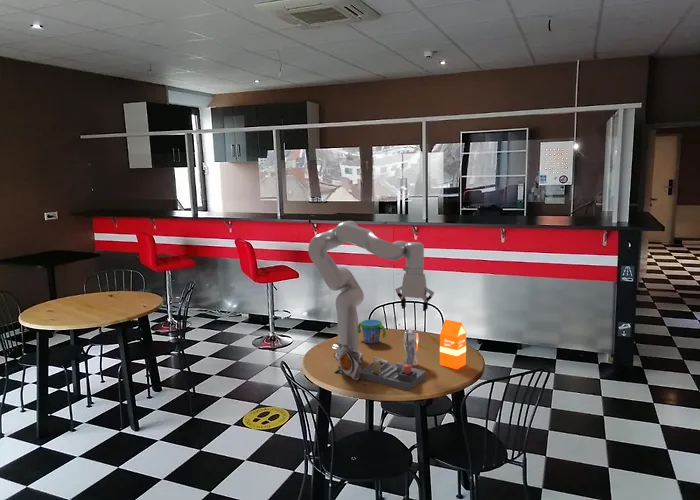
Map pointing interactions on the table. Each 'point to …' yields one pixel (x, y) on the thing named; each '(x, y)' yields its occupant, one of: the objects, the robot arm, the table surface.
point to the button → (407, 369)
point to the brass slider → (376, 366)
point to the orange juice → (453, 344)
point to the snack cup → (371, 330)
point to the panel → (393, 376)
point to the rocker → (381, 360)
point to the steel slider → (399, 366)
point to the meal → (348, 361)
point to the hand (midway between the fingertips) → (414, 309)
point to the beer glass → (411, 346)
